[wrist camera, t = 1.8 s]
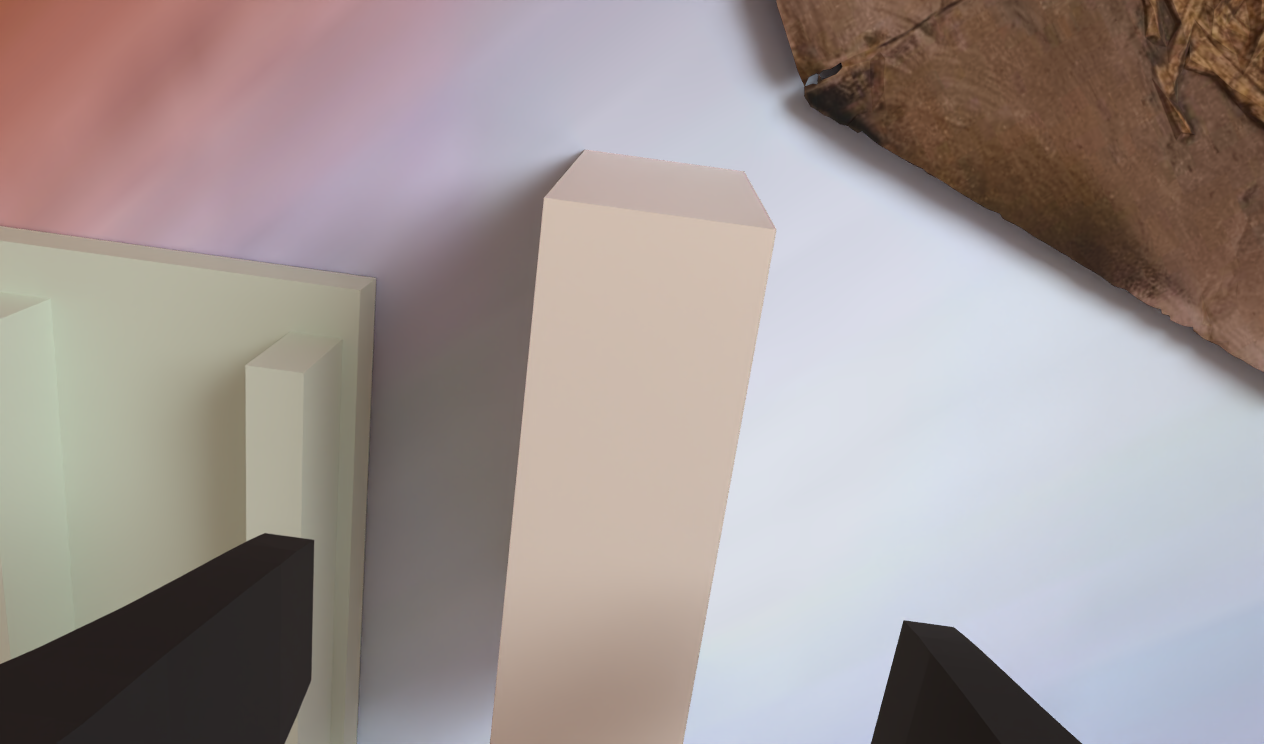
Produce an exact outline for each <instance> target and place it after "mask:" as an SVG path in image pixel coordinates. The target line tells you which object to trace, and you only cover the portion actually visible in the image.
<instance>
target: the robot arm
mask: <svg viewBox="0 0 1264 744" xmlns="http://www.w3.org/2000/svg"><path fill="white" fill-rule="evenodd" d="M313 581H314V540H312V539H305V538H297V537H290V536H283V535H275V534H268V533H264V534H261V535H259V536H257V537H255V538H253V539H250V540H248V541H246V542H244V543H242V544H240V545H239V546H237V547H235V548H233V549H231V550H229V551H227V552H225V553H223V554H221V555H220V556H218V557H216V558H214V559H212V560H210V561H208V562H207V563H205V564H203V565H201V566H199V567H197V568H196V569H194V570H192V571H190V572H188V573H186V574H184V575H183V576H181V577H179V578H177V579H175V580H173V581H171V582H169V583H167V584H166V585H164V586H162V587H160V588H158V589H156V590H154V591H152V592H151V593H149V594H147V595H145V596H143V597H141V598H139V599H137V600H135V601H134V602H132V603H130V604H128V605H126V606H124V607H122V608H120V609H118V610H116V611H114V612H112V613H109V614H107V615H105V616H103V617H101V618H99V619H97V620H95V621H93V622H91V623H89V624H86V625H84V626H82V627H80V628H78V629H76V630H74V631H72V632H70V633H68V634H66V635H64V636H61V637H59V638H57V639H55V640H53V641H51V642H49V643H47V644H45V645H43V646H41V647H38V648H36V649H34V650H32V651H29V652H27V653H25V654H23V655H20V656H18V657H16V658H13V659H11V660H8V661H6V662H4V663H1V664H0V744H285V742H286V739H287V737H288V735H289V733H290V730H291V728H292V726H293V724H294V721H295V719H296V717H297V714H298V712H299V709H300V707H301V704H302V702H303V700H304V697H305V695H306V692H307V690H308V688H309V685H310V683H311V676H312V628H313ZM871 744H1082V743H1081V742H1080V741H1079V740H1077V739H1076V738H1075V737H1074V736H1073V735H1072V734H1071V733H1070V732H1068V731H1067V730H1066V729H1065V728H1064V727H1063V726H1062V725H1061V724H1060V723H1059V722H1057V721H1056V720H1055V719H1054V718H1053V717H1052V716H1051V715H1050V714H1049V713H1048V712H1047V711H1045V710H1044V709H1043V708H1042V707H1041V706H1040V705H1039V704H1038V703H1037V702H1036V701H1035V700H1034V699H1033V698H1031V697H1030V696H1029V695H1028V694H1027V693H1026V692H1025V691H1024V690H1023V689H1022V688H1021V687H1020V686H1019V685H1018V684H1016V683H1015V682H1014V681H1013V680H1012V679H1011V678H1010V677H1009V676H1008V675H1007V674H1006V673H1005V672H1004V671H1003V670H1002V669H1000V668H999V667H998V666H997V665H996V664H995V663H994V662H993V661H992V660H991V659H990V658H989V657H988V656H986V655H985V654H984V653H983V652H982V651H981V650H980V649H979V648H978V647H977V646H975V645H974V644H973V643H972V642H971V641H970V640H969V639H967V638H966V637H965V636H964V635H963V634H961V633H960V632H959V631H958V630H957V629H955V628H954V627H948V626H941V625H934V624H926V623H919V622H912V621H903V625H902V629H901V632H900V636H899V640H898V644H897V647H896V651H895V655H894V659H893V663H892V666H891V670H890V674H889V678H888V681H887V685H886V689H885V693H884V697H883V700H882V704H881V708H880V712H879V716H878V719H877V723H876V727H875V731H874V734H873V738H872V742H871Z"/></svg>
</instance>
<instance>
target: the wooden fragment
mask: <svg viewBox="0 0 1264 744" xmlns="http://www.w3.org/2000/svg"><path fill="white" fill-rule="evenodd" d="M776 2H777V6H778V10H779V13H780V16H781V19H782V22H783V25H784V29H785V32H786V35H787V38H788V41H789V44H790V47H791V50H792V53H793V56H794V60H795V63H796V67H797V70H798V72H799V75H800V77H801V80H802V82H803V84H804V86H805V84H806V82H807V80H808V78H809V77H810V76H812V75H814V74H816V73H817V74H820V73H821V72H822V71H823V70H827V69H831V68H833V67H835V66H836V65H838V64H839V63H841V64H842V68H841V70H840V71H839V72H838V73H837V74H835V75H833V76H830V77H828V78H825V79H823V80H822V79H821V77H820V75H819V77H818V84H817V85H816V84H810V85H808V86H805V93H804V96H805V98H806V99H807V101H808V103H809V104H810V106H811V107H812V108H814V109H816V110H817V111H819V112H820V113H822V114H823V115H825V116H828V117H830V118H832V119H833V120H835V121H836V122H838V123H839V124H842V125H846V126H848V127H850V128H851V129H853V130H854V131H856V132H857V133H859V132H861V131H863V132H864V133H865V134H866V135H867V136H869V137H870V138H871V139H872V140H874V141H875V142H876V143H877V144H879V145H880V146H882V147H884V148H885V149H887V150H889V151H891V152H892V153H894V154H896V155H897V156H899V157H901V158H903V159H904V160H906V161H908V162H910V163H912V164H914V165H916V166H918V167H920V168H922V169H924V170H925V171H926V172H927V173H928V174H930V175H932V176H934V177H936V178H938V179H940V180H941V181H943V182H944V183H946V184H948V185H949V186H950V187H952V188H953V189H955V190H956V191H958V192H960V193H961V194H963V195H965V196H966V197H968V198H970V199H971V200H973V201H975V202H976V203H978V204H980V205H982V206H983V207H985V208H987V209H989V210H992V211H994V212H997V213H1000V214H1001V216H1002V218H1003V219H1005V220H1007V221H1009V222H1011V223H1013V224H1015V225H1017V226H1019V227H1021V228H1022V229H1024V230H1025V231H1027V232H1028V233H1030V234H1031V235H1032V236H1034V237H1036V238H1038V239H1039V240H1041V241H1043V242H1045V243H1047V244H1048V245H1050V246H1051V247H1053V248H1055V249H1056V250H1058V251H1059V252H1061V253H1063V254H1065V255H1067V256H1068V257H1070V258H1071V259H1072V260H1074V261H1076V262H1078V263H1079V264H1081V265H1083V266H1085V267H1086V268H1088V269H1090V270H1092V271H1093V272H1095V273H1097V274H1098V275H1100V276H1101V277H1103V278H1104V279H1105V280H1107V281H1108V282H1109V283H1111V284H1112V285H1113V286H1116V287H1119V288H1123V289H1125V290H1127V291H1128V292H1129V293H1131V294H1132V295H1134V296H1135V297H1136V298H1138V299H1139V300H1141V301H1143V302H1144V303H1146V304H1148V305H1150V306H1152V307H1154V308H1158V309H1161V310H1162V314H1166V315H1170V320H1171V321H1173V322H1176V323H1178V324H1180V325H1183V326H1188V327H1193V331H1194V332H1196V333H1197V334H1199V335H1200V336H1201V337H1202V338H1204V339H1206V340H1208V341H1210V342H1212V343H1215V344H1217V345H1219V346H1220V347H1222V348H1223V349H1224V350H1225V351H1227V352H1228V353H1230V354H1231V355H1233V356H1235V357H1237V358H1239V359H1241V360H1243V361H1244V362H1246V363H1248V364H1249V365H1251V366H1252V367H1254V368H1256V369H1258V370H1260V371H1262V372H1264V0H776Z"/></svg>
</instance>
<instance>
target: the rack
mask: <svg viewBox="0 0 1264 744" xmlns="http://www.w3.org/2000/svg"><path fill="white" fill-rule="evenodd" d="M375 296H376V278H373V277H366V276H359V275H351V274H344V273H337V272H330V271H322V270H315V269H308V268H301V267H293V266H286V265H279V264H272V263H264V262H257V261H250V260H243V259H235V258H228V257H221V256H214V255H206V254H199V253H192V252H185V251H177V250H170V249H163V248H156V247H148V246H141V245H134V244H127V243H119V242H112V241H105V240H98V239H90V238H83V237H76V236H69V235H61V234H54V233H47V232H39V231H32V230H25V229H18V228H10V227H3V226H0V664H1V663H4V662H6V661H8V660H11V659H13V658H16V657H18V656H20V655H23V654H25V653H27V652H29V651H32V650H34V649H36V648H38V647H41V646H43V645H45V644H47V643H49V642H51V641H53V640H55V639H57V638H59V637H61V636H64V635H66V634H68V633H70V632H72V631H74V630H76V629H78V628H80V627H82V626H84V625H86V624H89V623H91V622H93V621H95V620H97V619H99V618H101V617H103V616H105V615H107V614H109V613H112V612H114V611H116V610H118V609H120V608H122V607H124V606H126V605H128V604H130V603H132V602H134V601H135V600H137V599H139V598H141V597H143V596H145V595H147V594H149V593H151V592H152V591H154V590H156V589H158V588H160V587H162V586H164V585H166V584H167V583H169V582H171V581H173V580H175V579H177V578H179V577H181V576H183V575H184V574H186V573H188V572H190V571H192V570H194V569H196V568H197V567H199V566H201V565H203V564H205V563H207V562H208V561H210V560H212V559H214V558H216V557H218V556H220V555H221V554H223V553H225V552H227V551H229V550H231V549H233V548H235V547H237V546H239V545H240V544H242V543H244V542H246V541H248V540H250V539H253V538H255V537H257V536H259V535H261V534H264V533H268V534H275V535H283V536H290V537H297V538H305V539H312V540H314V581H313V628H312V676H311V683H310V685H309V688H308V690H307V692H306V695H305V697H304V700H303V702H302V704H301V707H300V709H299V712H298V714H297V717H296V719H295V721H294V724H293V726H292V728H291V730H290V733H289V735H288V737H287V739H286V742H285V744H357V722H358V698H359V675H360V651H361V627H362V603H363V580H364V556H365V532H366V509H367V485H368V461H369V438H370V414H371V390H372V367H373V343H374V319H375Z"/></svg>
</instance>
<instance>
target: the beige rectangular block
mask: <svg viewBox="0 0 1264 744" xmlns="http://www.w3.org/2000/svg"><path fill="white" fill-rule="evenodd" d="M775 235H776V228H775V226H774V224H773V223H772V221H771V219H770V217H769V215H768V213H767V212H766V210H765V208H764V206H763V204H762V203H761V201H760V199H759V197H758V195H757V193H756V192H755V190H754V188H753V186H752V184H751V183H750V181H749V179H748V177H747V175H746V173H745V172H744V171H737V170H730V169H723V168H716V167H708V166H701V165H694V164H687V163H679V162H672V161H665V160H658V159H650V158H643V157H636V156H629V155H621V154H614V153H607V152H600V151H592V150H584V152H583V153H582V154H581V155H580V156H579V157H578V159H577V160H576V161H575V162H574V163H573V164H572V166H571V167H570V168H569V169H568V170H567V171H566V173H565V174H564V175H563V176H562V177H561V178H560V180H559V181H558V182H557V183H556V184H555V185H554V187H553V188H552V189H551V190H550V191H549V192H548V194H547V195H546V196H545V197H544V203H543V213H542V223H541V234H540V244H539V254H538V264H537V274H536V284H535V294H534V304H533V314H532V324H531V335H530V345H529V355H528V365H527V375H526V385H525V395H524V405H523V415H522V426H521V436H520V446H519V456H518V466H517V476H516V486H515V496H514V506H513V516H512V527H511V537H510V547H509V557H508V567H507V577H506V587H505V597H504V607H503V617H502V628H501V638H500V648H499V658H498V668H497V678H496V688H495V698H494V708H493V718H492V729H491V739H490V744H683V740H684V734H685V729H686V723H687V718H688V712H689V707H690V702H691V696H692V691H693V685H694V680H695V674H696V669H697V663H698V658H699V652H700V647H701V641H702V636H703V630H704V625H705V619H706V614H707V608H708V603H709V597H710V592H711V586H712V581H713V575H714V570H715V564H716V559H717V553H718V548H719V542H720V537H721V531H722V526H723V520H724V515H725V509H726V504H727V498H728V493H729V487H730V482H731V476H732V471H733V465H734V460H735V454H736V449H737V443H738V438H739V432H740V427H741V421H742V416H743V410H744V405H745V399H746V394H747V388H748V383H749V377H750V372H751V366H752V361H753V355H754V350H755V344H756V339H757V334H758V328H759V323H760V317H761V312H762V306H763V301H764V295H765V290H766V284H767V279H768V273H769V268H770V262H771V257H772V251H773V246H774V240H775Z"/></svg>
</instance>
